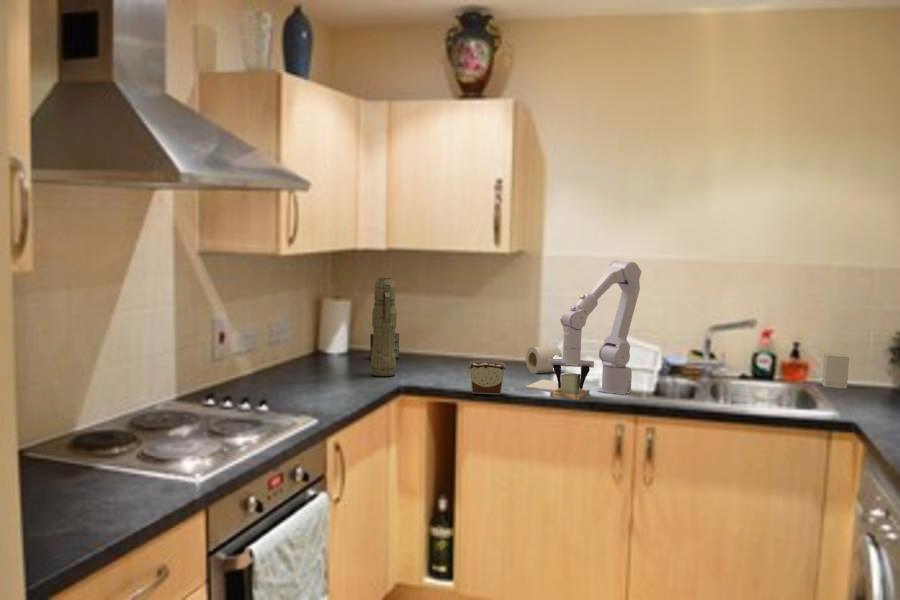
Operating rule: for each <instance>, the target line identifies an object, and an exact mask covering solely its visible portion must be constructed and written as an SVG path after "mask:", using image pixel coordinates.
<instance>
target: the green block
mask: <svg viewBox="0 0 900 600" xmlns="http://www.w3.org/2000/svg"><path fill="white" fill-rule="evenodd" d="M580 379H581V373H576V372H575V373H574V372H566V373H564V374H561V391H560V393H566V394H574V395H577V394H579V393H580Z"/></svg>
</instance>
